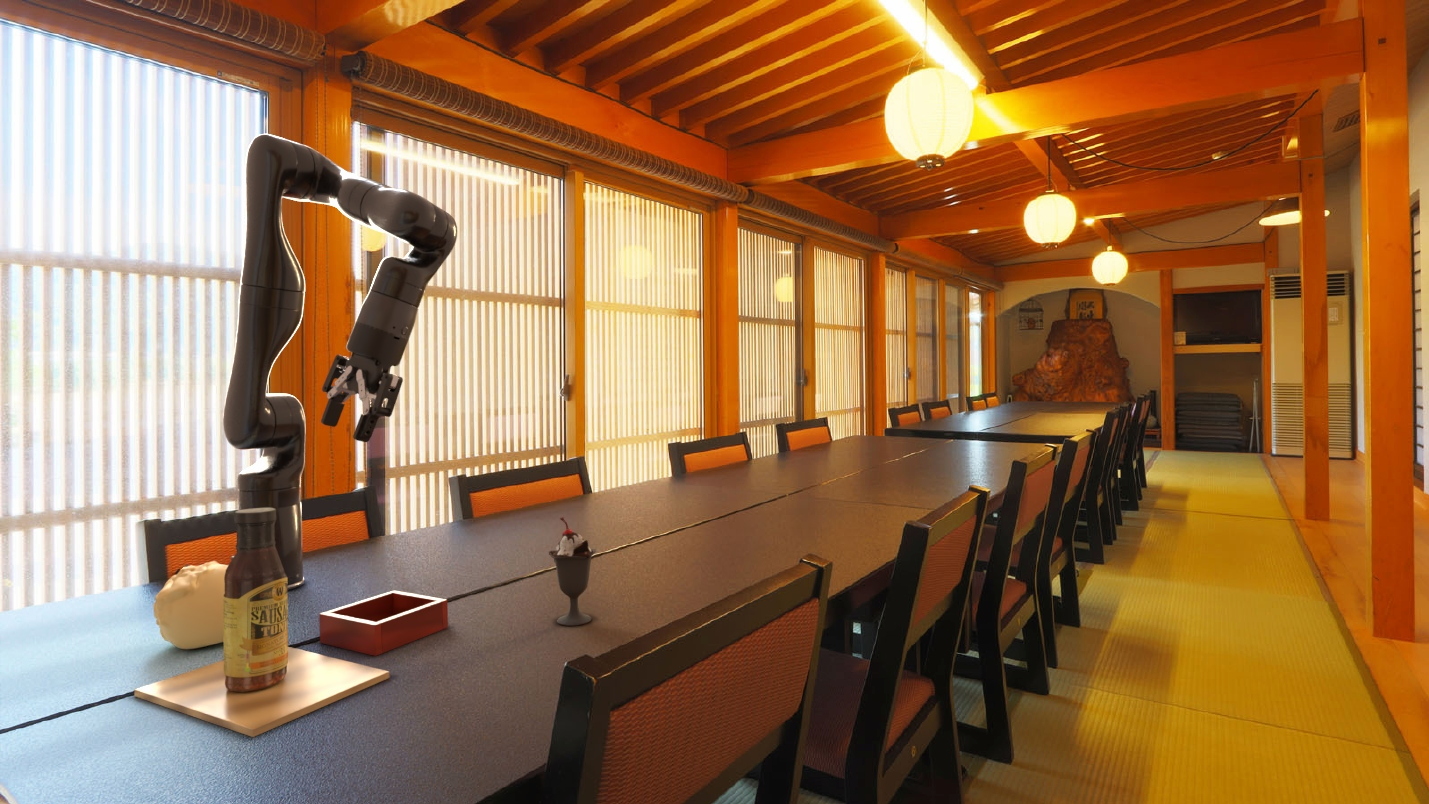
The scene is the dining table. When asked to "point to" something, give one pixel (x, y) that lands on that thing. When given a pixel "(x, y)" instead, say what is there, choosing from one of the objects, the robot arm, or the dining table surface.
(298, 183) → the robot arm
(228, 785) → the dining table surface
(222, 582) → the tan rounded lump
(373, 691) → the dining table surface
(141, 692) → the mat
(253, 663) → the sauce bottle
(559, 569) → the sundae
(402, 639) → the holder
